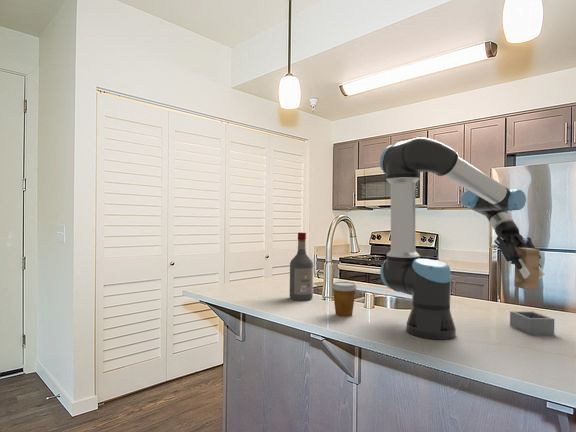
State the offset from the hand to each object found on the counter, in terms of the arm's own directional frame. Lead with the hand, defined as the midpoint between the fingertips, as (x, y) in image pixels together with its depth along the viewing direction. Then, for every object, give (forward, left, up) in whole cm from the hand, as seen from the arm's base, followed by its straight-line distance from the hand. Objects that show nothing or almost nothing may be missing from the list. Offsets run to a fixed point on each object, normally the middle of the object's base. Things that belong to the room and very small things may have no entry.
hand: (534, 276), depth 130 cm
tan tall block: (-2, +3, -5) cm, 6 cm away
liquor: (-89, +1, -18) cm, 91 cm away
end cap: (-1, -3, -18) cm, 18 cm away
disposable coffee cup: (-63, -16, -18) cm, 67 cm away
